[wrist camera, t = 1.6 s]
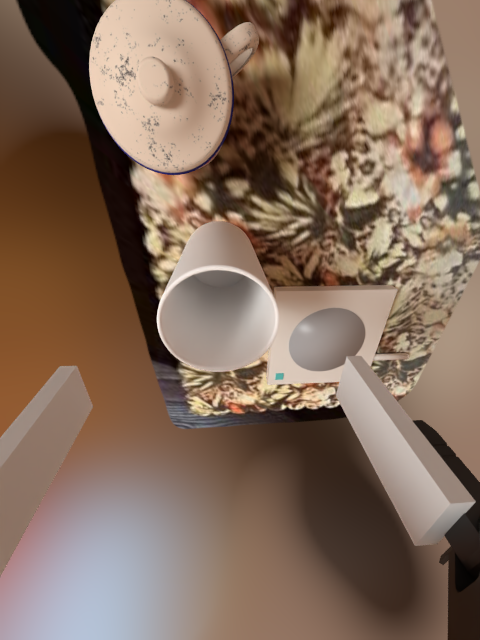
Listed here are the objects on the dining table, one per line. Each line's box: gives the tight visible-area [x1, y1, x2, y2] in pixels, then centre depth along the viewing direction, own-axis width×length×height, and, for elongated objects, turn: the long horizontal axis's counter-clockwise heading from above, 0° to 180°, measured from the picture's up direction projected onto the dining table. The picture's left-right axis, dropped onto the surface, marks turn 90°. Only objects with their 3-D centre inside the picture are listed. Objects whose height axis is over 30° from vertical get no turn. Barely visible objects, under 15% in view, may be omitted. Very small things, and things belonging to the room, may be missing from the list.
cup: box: [157, 221, 279, 372], centre depth 24 cm, size 8×8×16 cm
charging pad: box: [266, 285, 409, 385], centre depth 37 cm, size 16×22×2 cm
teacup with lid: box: [89, 0, 259, 175], centre depth 19 cm, size 12×9×12 cm
